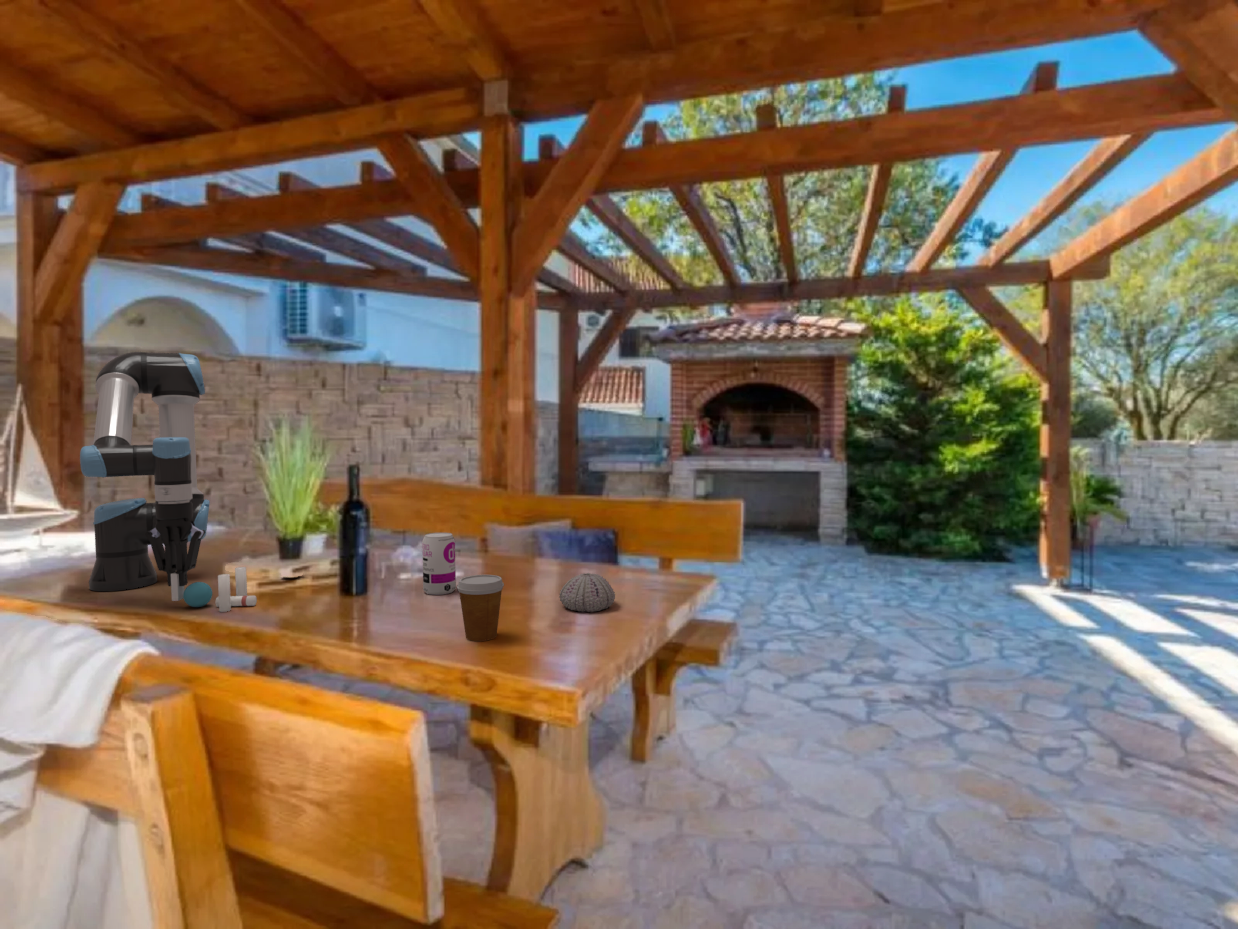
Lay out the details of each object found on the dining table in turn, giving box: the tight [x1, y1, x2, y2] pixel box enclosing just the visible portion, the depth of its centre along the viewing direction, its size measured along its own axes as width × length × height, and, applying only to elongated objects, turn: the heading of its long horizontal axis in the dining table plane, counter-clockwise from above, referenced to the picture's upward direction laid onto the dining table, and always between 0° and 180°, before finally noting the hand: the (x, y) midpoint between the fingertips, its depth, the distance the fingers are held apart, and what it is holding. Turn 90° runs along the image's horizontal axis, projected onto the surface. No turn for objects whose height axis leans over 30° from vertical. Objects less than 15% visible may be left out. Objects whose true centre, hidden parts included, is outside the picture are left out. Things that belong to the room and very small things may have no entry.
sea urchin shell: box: [558, 572, 616, 613], centre depth 166 cm, size 13×14×8 cm
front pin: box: [215, 595, 258, 608], centre depth 167 cm, size 2×2×8 cm
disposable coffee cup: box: [456, 574, 505, 642], centre depth 142 cm, size 10×10×12 cm
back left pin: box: [234, 566, 248, 596], centre depth 171 cm, size 2×2×8 cm
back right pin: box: [217, 573, 232, 613], centre depth 163 cm, size 2×2×8 cm
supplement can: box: [421, 532, 457, 596], centre depth 180 cm, size 8×8×15 cm
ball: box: [183, 581, 213, 608], centre depth 167 cm, size 6×6×6 cm
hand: (178, 599), depth 167 cm, fingers closed
